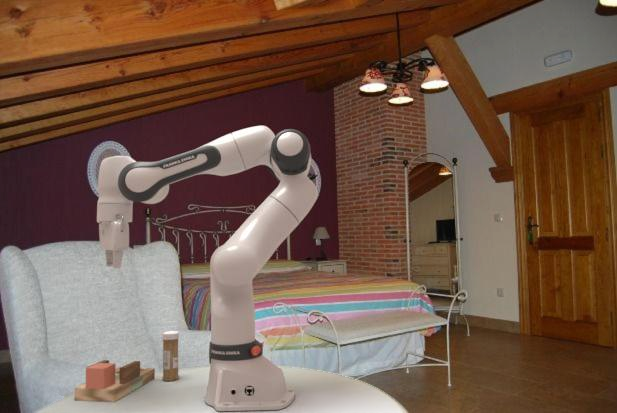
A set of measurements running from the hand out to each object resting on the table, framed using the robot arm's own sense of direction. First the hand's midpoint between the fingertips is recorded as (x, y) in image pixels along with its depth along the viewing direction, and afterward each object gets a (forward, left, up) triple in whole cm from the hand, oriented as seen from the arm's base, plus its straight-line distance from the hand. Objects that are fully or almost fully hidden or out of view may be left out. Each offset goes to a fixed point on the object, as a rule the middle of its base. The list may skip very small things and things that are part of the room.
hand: (113, 267), depth 122 cm
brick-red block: (+1, +2, -30) cm, 30 cm away
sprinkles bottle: (-9, -15, -33) cm, 38 cm away
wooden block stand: (+1, -5, -33) cm, 34 cm away
